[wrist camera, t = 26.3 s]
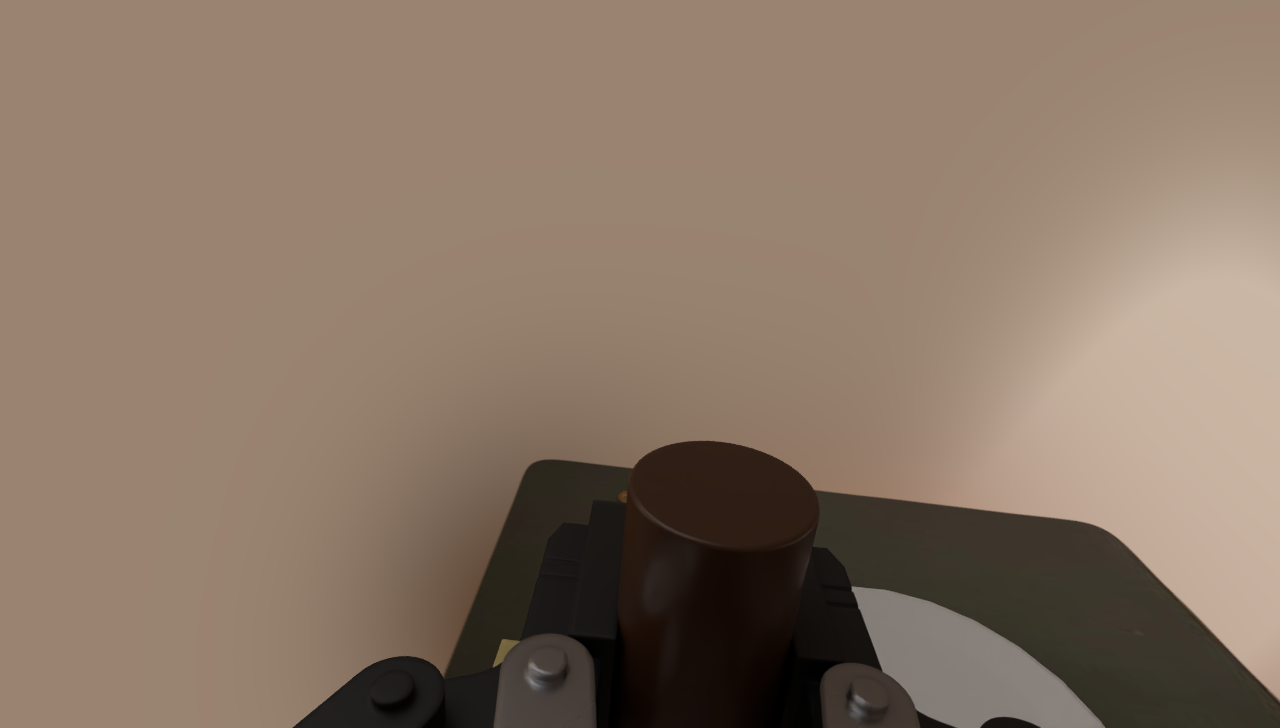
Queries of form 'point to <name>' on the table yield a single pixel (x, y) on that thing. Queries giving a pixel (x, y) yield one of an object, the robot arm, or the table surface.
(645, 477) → the knife
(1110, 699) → the table surface
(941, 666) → the plate
